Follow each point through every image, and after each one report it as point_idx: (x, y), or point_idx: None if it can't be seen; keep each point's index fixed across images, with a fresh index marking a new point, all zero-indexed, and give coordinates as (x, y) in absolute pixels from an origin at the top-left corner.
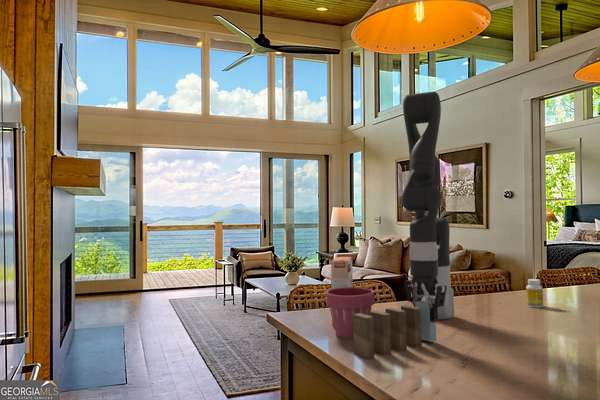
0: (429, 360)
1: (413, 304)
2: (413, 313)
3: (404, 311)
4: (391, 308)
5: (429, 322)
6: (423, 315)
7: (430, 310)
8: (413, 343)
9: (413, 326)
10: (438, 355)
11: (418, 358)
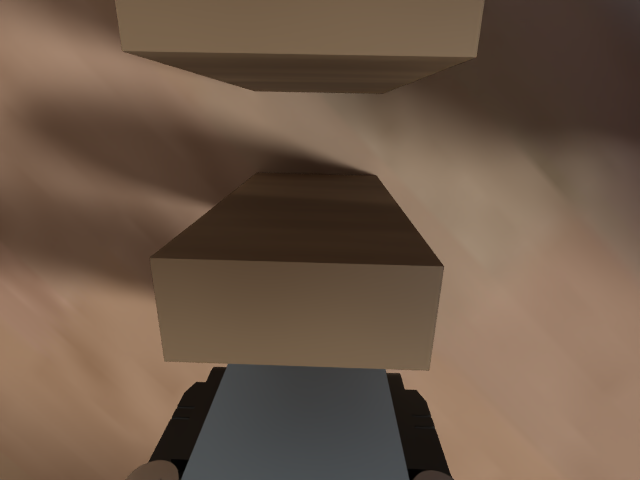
0: (10, 35)
1: (439, 477)
2: (200, 238)
3: (120, 27)
4: (433, 2)
5: None
6: (291, 394)
7: (183, 443)
8: (274, 176)
9: (243, 200)
10: (71, 156)
11: (71, 8)
